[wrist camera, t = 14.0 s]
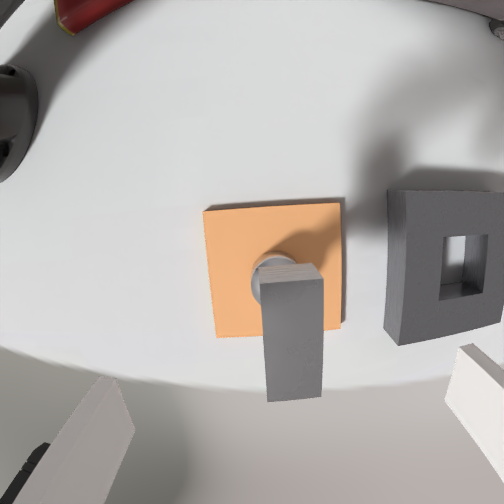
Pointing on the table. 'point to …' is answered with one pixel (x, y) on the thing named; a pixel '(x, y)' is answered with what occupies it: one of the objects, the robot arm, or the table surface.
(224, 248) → the key mat
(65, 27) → the hardcover book
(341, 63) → the table surface
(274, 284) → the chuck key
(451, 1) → the hydraulic cylinder
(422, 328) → the block
